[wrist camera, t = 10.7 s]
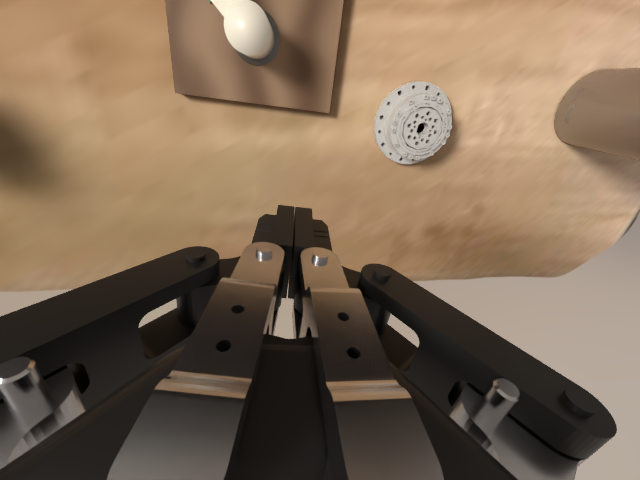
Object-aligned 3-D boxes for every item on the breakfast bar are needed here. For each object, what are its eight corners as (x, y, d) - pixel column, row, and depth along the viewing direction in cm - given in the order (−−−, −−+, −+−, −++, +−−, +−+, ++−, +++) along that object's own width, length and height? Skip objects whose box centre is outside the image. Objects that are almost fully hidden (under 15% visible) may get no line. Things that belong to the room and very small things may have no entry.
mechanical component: (428, 168, 41) (460, 92, 37) (442, 177, 37) (479, 94, 33) (363, 153, 39) (387, 72, 35) (370, 161, 36) (399, 70, 31)
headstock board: (353, -89, 28) (356, -99, 26) (328, 111, 36) (329, 113, 35) (155, -133, 26) (146, -147, 24) (178, 92, 34) (172, 93, 32)
